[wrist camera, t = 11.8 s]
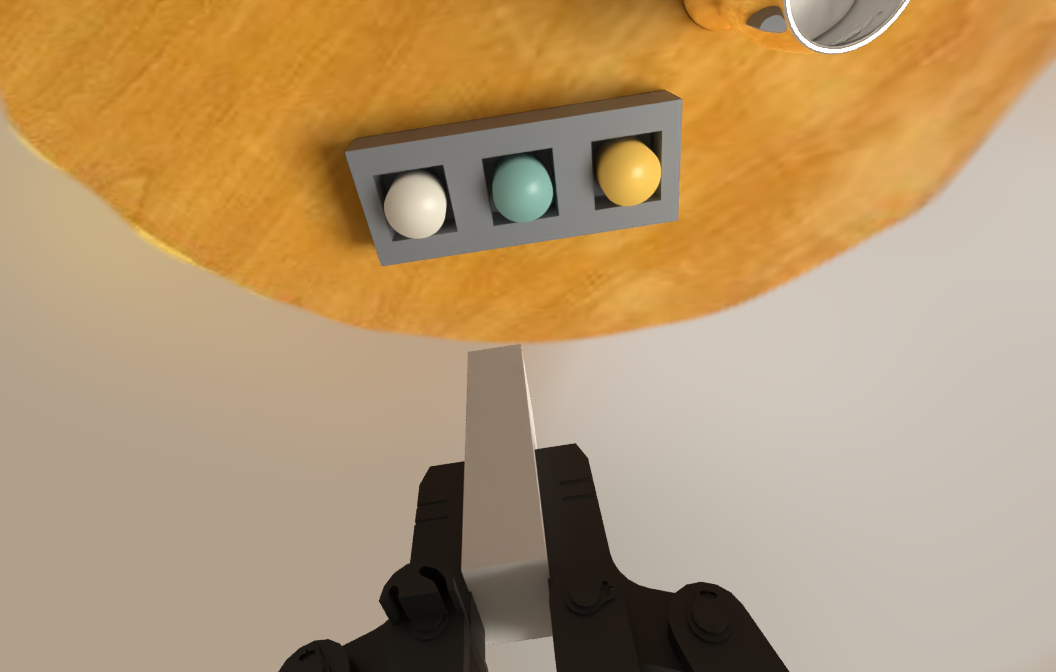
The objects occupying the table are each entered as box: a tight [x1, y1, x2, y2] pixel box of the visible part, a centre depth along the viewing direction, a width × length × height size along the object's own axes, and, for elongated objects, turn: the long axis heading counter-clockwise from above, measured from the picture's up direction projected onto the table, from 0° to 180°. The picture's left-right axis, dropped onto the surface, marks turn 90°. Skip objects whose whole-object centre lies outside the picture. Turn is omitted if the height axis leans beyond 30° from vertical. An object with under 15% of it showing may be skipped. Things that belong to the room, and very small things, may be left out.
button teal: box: [492, 152, 553, 222], centre depth 39 cm, size 4×4×3 cm
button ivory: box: [384, 168, 448, 239], centre depth 39 cm, size 4×4×3 cm
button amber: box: [593, 136, 661, 206], centre depth 39 cm, size 4×4×3 cm
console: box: [345, 90, 683, 266], centre depth 40 cm, size 24×9×4 cm, turn 97°
